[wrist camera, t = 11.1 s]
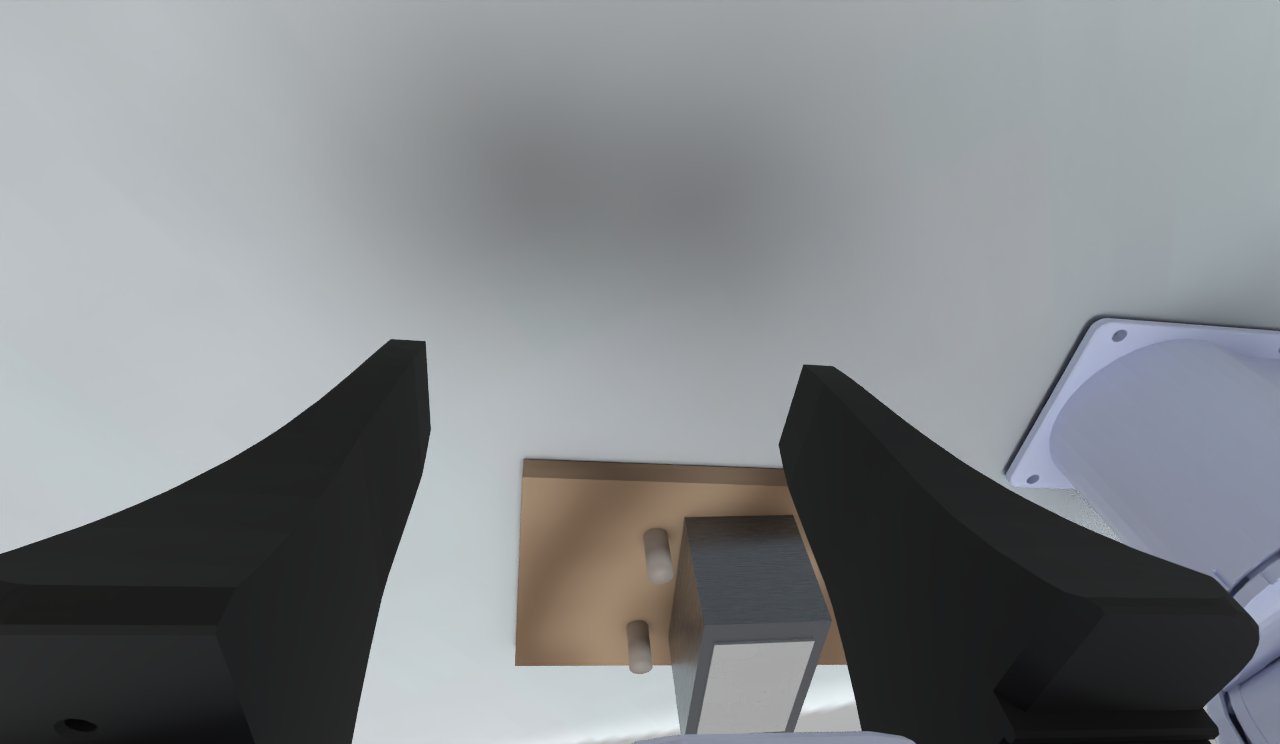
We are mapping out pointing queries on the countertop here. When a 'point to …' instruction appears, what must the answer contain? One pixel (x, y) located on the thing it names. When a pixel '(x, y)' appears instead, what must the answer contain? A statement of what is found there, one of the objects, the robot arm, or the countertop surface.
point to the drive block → (744, 625)
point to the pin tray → (624, 555)
